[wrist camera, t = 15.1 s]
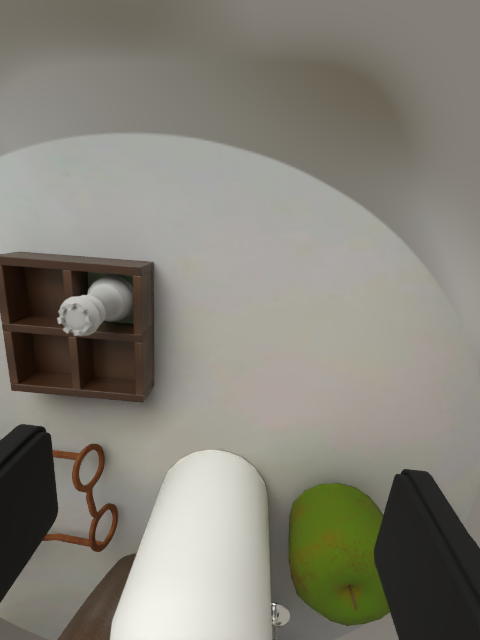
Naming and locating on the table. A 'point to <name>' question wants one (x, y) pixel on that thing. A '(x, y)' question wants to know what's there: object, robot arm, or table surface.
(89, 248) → the table surface
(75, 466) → the glasses
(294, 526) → the apple
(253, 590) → the can
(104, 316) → the rook chess piece
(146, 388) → the rack
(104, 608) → the plant pot
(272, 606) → the wineglass
